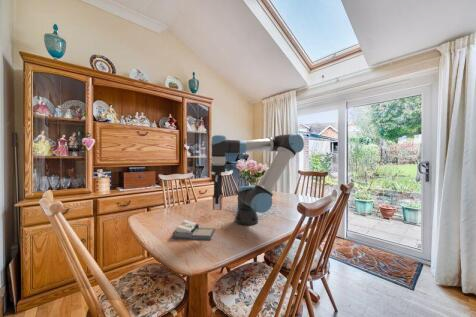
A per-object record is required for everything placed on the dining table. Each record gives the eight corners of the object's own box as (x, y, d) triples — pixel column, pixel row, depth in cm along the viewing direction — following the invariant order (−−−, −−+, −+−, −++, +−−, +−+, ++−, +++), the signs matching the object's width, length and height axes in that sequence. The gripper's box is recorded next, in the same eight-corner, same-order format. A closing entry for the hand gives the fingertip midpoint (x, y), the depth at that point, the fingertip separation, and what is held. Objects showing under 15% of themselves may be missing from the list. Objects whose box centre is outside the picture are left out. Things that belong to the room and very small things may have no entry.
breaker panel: (215, 230, 115) (215, 224, 115) (210, 240, 102) (210, 234, 102) (181, 229, 116) (181, 223, 116) (172, 238, 103) (172, 232, 103)
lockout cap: (222, 207, 110) (222, 194, 109) (221, 210, 105) (221, 196, 104) (213, 207, 110) (213, 194, 110) (211, 209, 105) (212, 196, 105)
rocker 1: (190, 232, 107) (191, 228, 107) (189, 235, 104) (190, 230, 104) (178, 229, 107) (179, 224, 107) (176, 231, 104) (177, 226, 104)
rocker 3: (194, 227, 111) (193, 222, 111) (192, 229, 108) (191, 224, 108) (181, 229, 111) (181, 224, 111) (179, 231, 108) (179, 226, 108)
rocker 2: (195, 227, 115) (196, 223, 115) (193, 229, 112) (194, 224, 112) (183, 224, 115) (184, 219, 115) (181, 225, 112) (182, 221, 112)
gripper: (214, 163, 116) (213, 203, 116) (207, 165, 98) (207, 212, 98) (227, 163, 115) (226, 204, 116) (223, 165, 97) (222, 213, 98)
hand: (217, 208), depth 107 cm, fingers closed on lockout cap, 5 cm apart
